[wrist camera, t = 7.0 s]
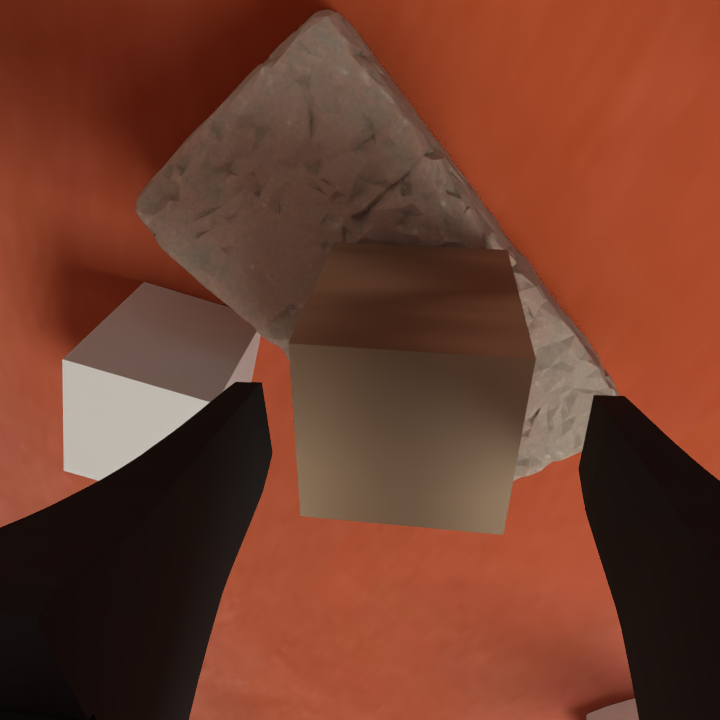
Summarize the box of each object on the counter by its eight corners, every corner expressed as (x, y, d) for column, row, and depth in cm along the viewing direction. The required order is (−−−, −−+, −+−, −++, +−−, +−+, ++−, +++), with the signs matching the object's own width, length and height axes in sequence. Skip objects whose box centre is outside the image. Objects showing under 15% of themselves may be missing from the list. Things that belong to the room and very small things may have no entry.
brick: (615, 365, 23) (649, 440, 19) (444, 457, 27) (443, 536, 23) (342, -6, 18) (313, -8, 14) (173, 170, 22) (111, 208, 18)
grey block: (264, 317, 24) (215, 403, 19) (245, 410, 26) (198, 508, 21) (144, 281, 24) (62, 359, 18) (137, 379, 26) (63, 470, 21)
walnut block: (507, 249, 17) (535, 358, 12) (487, 394, 19) (503, 534, 14) (334, 241, 17) (288, 343, 12) (336, 383, 20) (300, 515, 15)
